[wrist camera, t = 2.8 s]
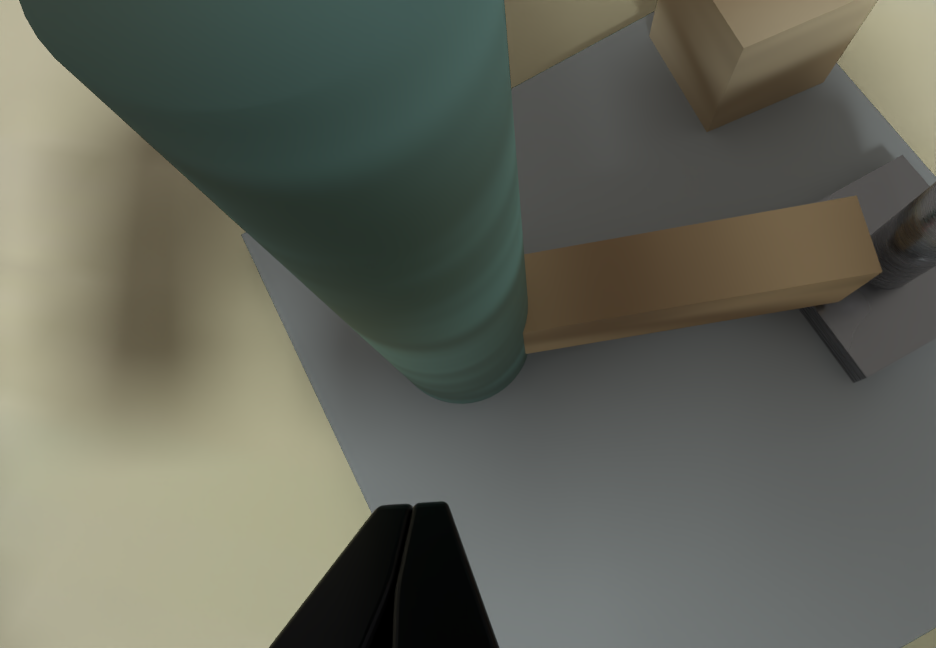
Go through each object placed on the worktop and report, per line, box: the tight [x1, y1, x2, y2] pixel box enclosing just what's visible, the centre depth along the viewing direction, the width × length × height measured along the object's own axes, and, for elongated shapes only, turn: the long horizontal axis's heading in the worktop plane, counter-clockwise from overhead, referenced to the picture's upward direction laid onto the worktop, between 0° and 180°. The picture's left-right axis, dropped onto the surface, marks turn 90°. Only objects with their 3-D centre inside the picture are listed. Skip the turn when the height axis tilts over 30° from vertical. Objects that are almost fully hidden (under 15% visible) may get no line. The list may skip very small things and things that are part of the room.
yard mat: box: [242, 11, 936, 648], centre depth 15 cm, size 14×14×1 cm
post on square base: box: [799, 155, 936, 383], centre depth 12 cm, size 4×4×4 cm
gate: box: [19, 0, 882, 404], centre depth 9 cm, size 9×3×11 cm, turn 98°
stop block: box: [649, 0, 878, 132], centre depth 15 cm, size 3×3×3 cm
